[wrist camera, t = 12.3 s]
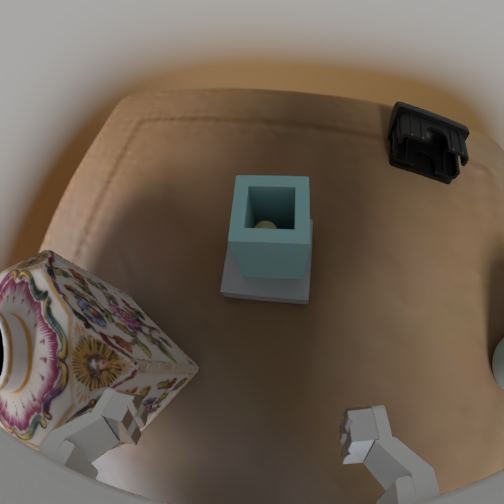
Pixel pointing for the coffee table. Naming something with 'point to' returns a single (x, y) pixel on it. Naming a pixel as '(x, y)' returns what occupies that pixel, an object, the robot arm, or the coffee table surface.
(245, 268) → the collar
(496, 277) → the coffee table surface
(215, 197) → the coffee table surface
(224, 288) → the shaft block
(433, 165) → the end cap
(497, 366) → the cup
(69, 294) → the decorative jar
